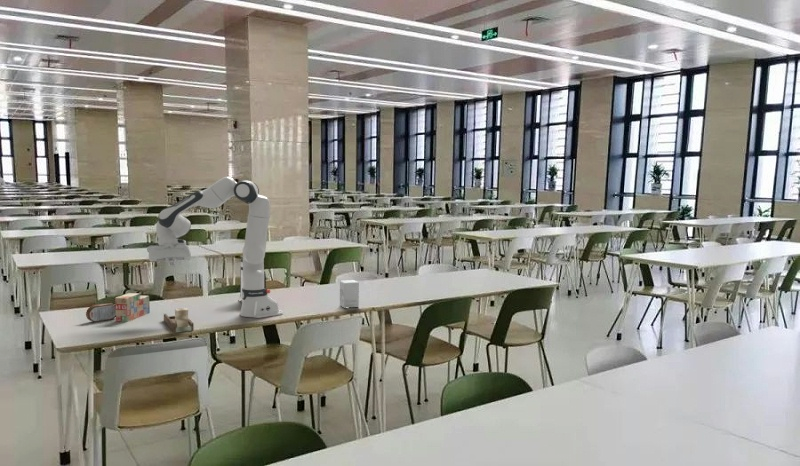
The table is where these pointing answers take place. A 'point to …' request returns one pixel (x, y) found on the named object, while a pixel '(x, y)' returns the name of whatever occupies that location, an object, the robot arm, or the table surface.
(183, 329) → the walled track
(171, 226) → the robot arm
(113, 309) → the tin
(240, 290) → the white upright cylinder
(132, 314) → the stack of blocks
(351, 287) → the supplement box
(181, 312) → the birch block
